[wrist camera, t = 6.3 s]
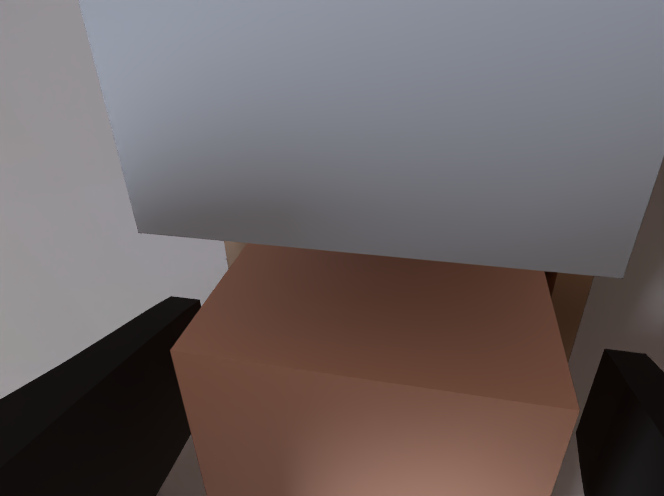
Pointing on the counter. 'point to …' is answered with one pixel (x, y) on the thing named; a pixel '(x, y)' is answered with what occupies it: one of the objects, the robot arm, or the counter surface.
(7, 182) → the counter surface
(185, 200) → the slate block
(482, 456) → the terracotta block
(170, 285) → the counter surface
